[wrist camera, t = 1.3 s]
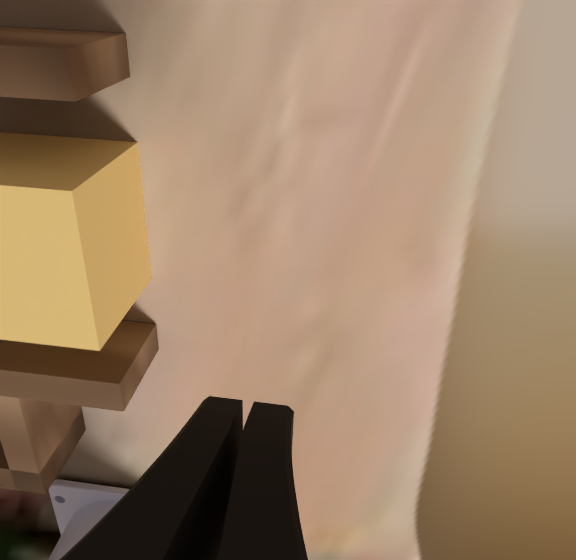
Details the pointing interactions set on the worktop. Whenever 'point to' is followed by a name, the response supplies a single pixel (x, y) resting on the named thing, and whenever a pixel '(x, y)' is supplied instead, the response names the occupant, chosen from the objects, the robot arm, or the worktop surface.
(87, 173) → the ochre block
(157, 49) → the worktop surface
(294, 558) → the robot arm
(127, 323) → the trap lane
